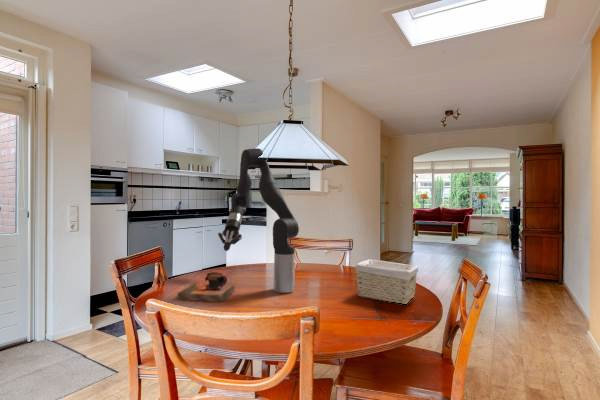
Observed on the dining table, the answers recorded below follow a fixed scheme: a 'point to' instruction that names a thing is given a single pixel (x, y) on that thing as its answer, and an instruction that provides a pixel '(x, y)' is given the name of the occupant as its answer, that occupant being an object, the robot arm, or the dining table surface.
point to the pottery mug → (215, 280)
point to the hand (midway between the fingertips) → (226, 249)
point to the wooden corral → (203, 295)
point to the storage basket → (386, 280)
